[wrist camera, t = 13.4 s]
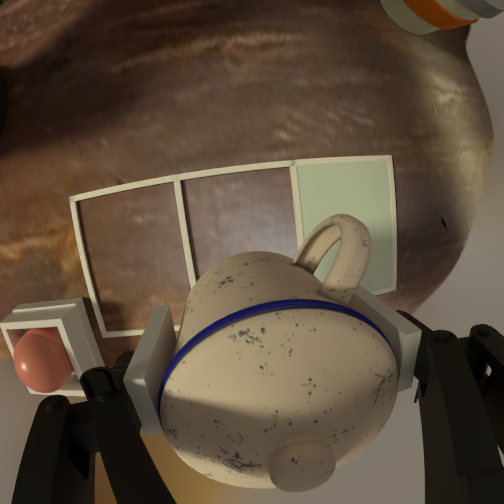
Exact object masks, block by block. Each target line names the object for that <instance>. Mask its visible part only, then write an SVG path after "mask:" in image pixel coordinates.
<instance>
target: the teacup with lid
mask: <svg viewBox="0 0 504 504" xmlns="http://www.w3.org/2000/svg"><path fill="white" fill-rule="evenodd" d="M339 240H341V242H340V247H339V250H338V253H337V256H336V259H335V261H334V263H333V265H332V267H331V269H330V271H329V273H328V275H327V277H326V278H325V280H324V282H323V283H322V282H321V281H319V280H318V279H317V278H316V277H315V276H314V273H315V271H316V269H317V267H318V265H319V264H320V262H321V260H322V259H323V257H324V256H325V254H326V253H327V252H328V250H329V249H330V248H331V247H332V246H333V245H334V244H335V243H337V242H338V241H339ZM370 249H371V238H370V233H369V231H368V228H367V227H366V226H365V224H363V223H362V222H361V221H360V220H358V219H356V218H355V217H353V216H351V215H348V214H336V215H333V216H331V217H329V218H327V219H325V220H324V221H322V222H321V223H320V224H319V225H317V226H316V227H315V228H314V229H313V230H312V232H311V233H310V234H309V235H308V237H307V238H306V239H305V241H304V242H303V244H302V246H301V247H300V249H299V251H298V252H297V254H296V256H295V258H294V260H293V259H291V258H289V257H287V256H284V255H281V254H277V253H272V252H264V251H254V252H246V253H241V254H237V255H234V256H231V257H229V258H226V259H224V260H222V261H220V262H218V263H217V264H215V265H214V266H212V267H211V268H210V269H209V270H207V271H206V272H205V273H204V274H203V275H202V276H201V277H200V278H199V280H198V281H197V282H196V284H195V285H194V287H193V288H192V290H191V292H190V294H189V296H188V299H187V301H186V305H185V309H184V313H183V317H182V321H181V326H180V330H179V334H178V338H177V343H176V347H175V352H174V356H173V359H172V361H171V362H170V364H169V366H168V367H167V369H166V371H165V373H164V376H163V378H162V381H161V384H160V389H159V393H158V413H159V417H160V420H161V423H162V428H163V431H164V433H165V436H166V438H167V440H168V442H169V443H170V445H171V446H172V448H173V449H174V451H175V452H176V453H177V454H178V456H179V457H180V458H181V459H182V460H183V461H184V462H186V463H187V464H188V465H189V466H191V467H192V468H193V469H195V470H196V471H198V472H199V473H201V474H203V475H205V476H207V477H209V478H211V479H214V480H216V481H219V482H222V483H226V484H230V485H234V486H239V487H246V488H279V489H281V490H283V491H287V492H303V491H308V490H311V489H314V488H316V487H318V486H320V485H322V484H323V483H325V482H326V481H327V480H328V479H329V478H330V477H331V476H332V474H333V472H334V470H336V469H338V468H339V467H341V466H343V465H344V464H346V463H347V462H349V461H350V460H352V459H353V458H355V457H356V456H357V455H358V454H359V453H360V452H362V451H363V450H364V449H365V448H366V447H367V446H368V445H369V444H370V443H371V442H372V441H373V440H374V439H375V438H376V436H377V435H378V434H379V433H380V431H381V430H382V428H383V427H384V425H385V424H386V422H387V420H388V419H389V416H390V414H391V412H392V410H393V407H394V404H395V401H396V396H397V391H398V368H397V363H396V360H395V356H394V353H393V350H392V347H391V345H390V343H389V341H388V340H387V338H386V336H385V335H384V333H383V332H382V331H381V330H380V329H379V327H378V326H376V325H375V324H374V323H373V322H372V321H371V320H370V319H368V318H367V317H365V316H364V315H362V314H361V313H359V312H357V311H355V310H353V309H351V308H348V307H347V304H348V303H349V301H350V299H351V298H352V296H353V294H354V292H355V291H356V289H357V287H358V285H359V283H360V281H361V279H362V277H363V275H364V273H365V270H366V267H367V264H368V261H369V256H370Z"/></svg>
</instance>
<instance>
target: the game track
mask: <svg viewBox="0 0 504 504" xmlns="http://www.w3.org/2000/svg"><path fill="white" fill-rule="evenodd" d="M278 167H290V176H291V184H292V193H293V203H294V212H295V222H296V233H297V244H298V251H299V249H300V247H301V246H302V244H303V242H304V241H305V239H306V238H307V237H308V235H309V234H310V233H311V232H312V230H313V229H314V228H315V227H316V226H317V225H319V224H320V223H321V222H322V221H324V220H325V219H327V218H329V217H331V216H333V215H336V214H348V215H351V216H353V217H355V218H356V219H358V220H360V221H361V222H362V223H363V224H365V226H366V227H367V228H368V231H369V233H370V238H371V249H370V256H369V261H368V264H367V267H366V270H365V273H364V275H363V277H362V279H361V281H360V283H359V285H360V286H362V287H363V288H365V289H366V290H367V291H369V292H370V293H372V294H373V295H374V296H375V295H379V294H383V293H388V292H392V291H396V280H397V225H396V202H395V186H394V174H393V164H392V155H385V156H350V157H330V158H314V159H300V160H288V161H277V162H267V163H257V164H249V165H240V166H232V167H224V168H217V169H210V170H203V171H196V172H189V173H183V174H177V175H171V176H165V177H160V178H154V179H149V180H143V181H138V182H133V183H128V184H123V185H118V186H114V187H109V188H105V189H100V190H96V191H91V192H87V193H83V194H79V195H75V196H71V197H69V199H70V206H71V212H72V218H73V224H74V229H75V235H76V240H77V245H78V249H79V254H80V259H81V263H82V267H83V271H84V275H85V279H86V283H87V287H88V291H89V294H90V298H91V302H92V305H93V308H94V312H95V315H96V318H97V322H98V325H99V328H100V331H101V334H102V337H103V338H109V337H121V336H132V335H142V334H143V332H144V330H145V328H138V329H129V330H118V331H106V327H105V324H104V321H103V318H102V315H101V311H100V308H99V304H98V301H97V297H96V293H95V290H94V286H93V282H92V278H91V274H90V270H89V266H88V261H87V257H86V252H85V248H84V243H83V238H82V233H81V227H80V222H79V216H78V210H77V203H76V201H79V200H83V199H87V198H92V197H96V196H101V195H105V194H110V193H114V192H119V191H124V190H129V189H134V188H139V187H145V186H150V185H155V184H161V183H167V182H173V181H174V187H175V194H176V201H177V208H178V215H179V221H180V228H181V234H182V240H183V246H184V252H185V258H186V263H187V269H188V274H189V280H190V285H191V290H192V288H193V287H194V285H195V284H196V278H195V273H194V267H193V261H192V255H191V249H190V243H189V237H188V231H187V225H186V218H185V211H184V205H183V198H182V190H181V183H180V180H185V179H191V178H198V177H205V176H211V175H219V174H226V173H234V172H242V171H250V170H259V169H268V168H278ZM340 242H341V240H339V241H338V242H337V243H335V244H334V245H333V246H332V247H331V248H330V249H329V250H328V252H327V253H326V254H325V256H324V257H323V259H322V260H321V262H320V264H319V265H318V267H317V269H316V271H315V273H314V276H315V277H316V278H317V279H318V280H319V281H321V282H322V283H323V282H324V280H325V278H326V277H327V275H328V273H329V271H330V269H331V267H332V265H333V263H334V261H335V259H336V256H337V253H338V250H339V247H340ZM180 326H181V324H174V330H175V331H178V330H180Z"/></svg>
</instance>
